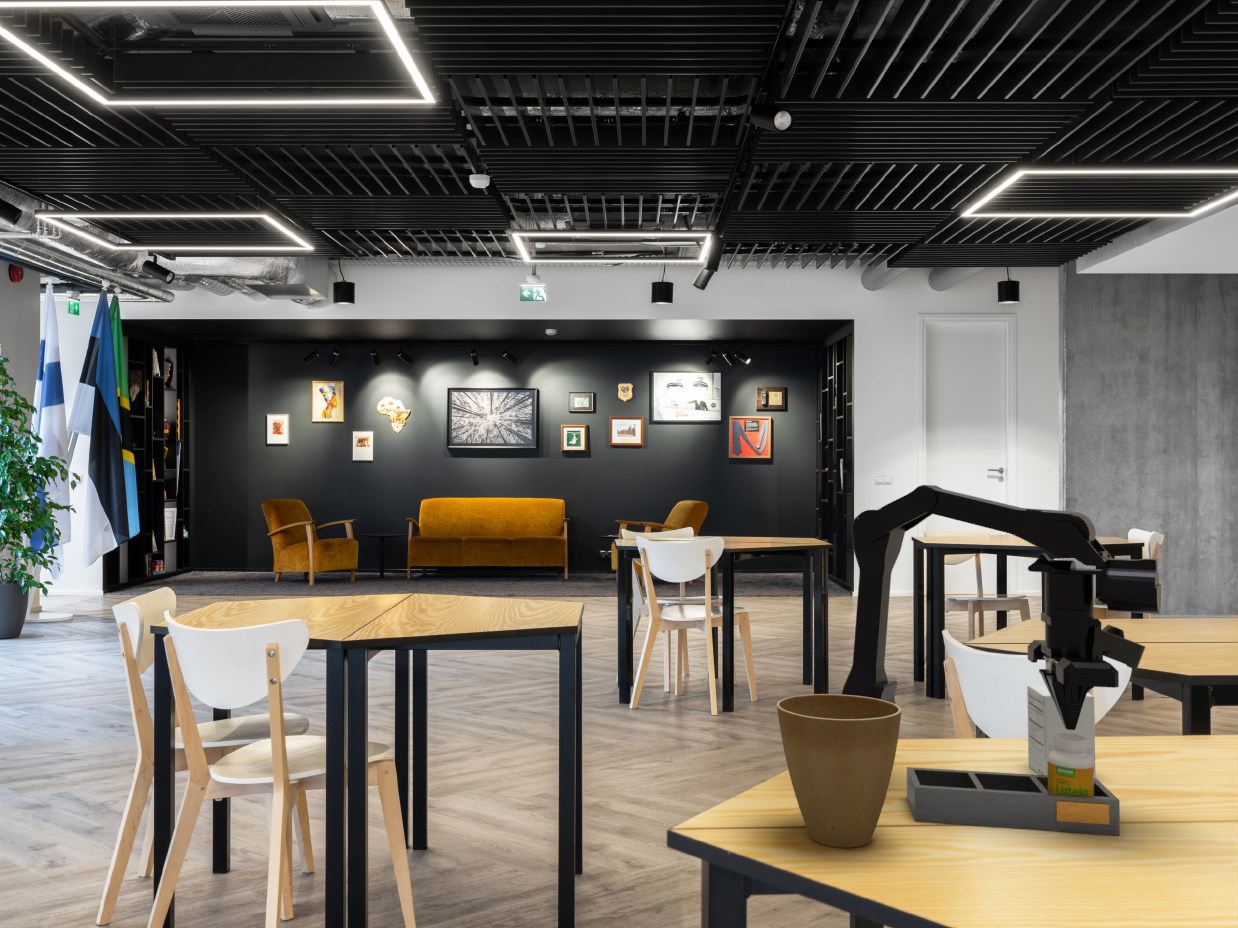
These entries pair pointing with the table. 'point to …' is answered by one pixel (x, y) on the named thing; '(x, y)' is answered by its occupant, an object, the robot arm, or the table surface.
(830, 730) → the plant pot
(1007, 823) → the compartment organizer tray
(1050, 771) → the supplement bottle
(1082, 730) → the supplement box
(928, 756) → the table surface
